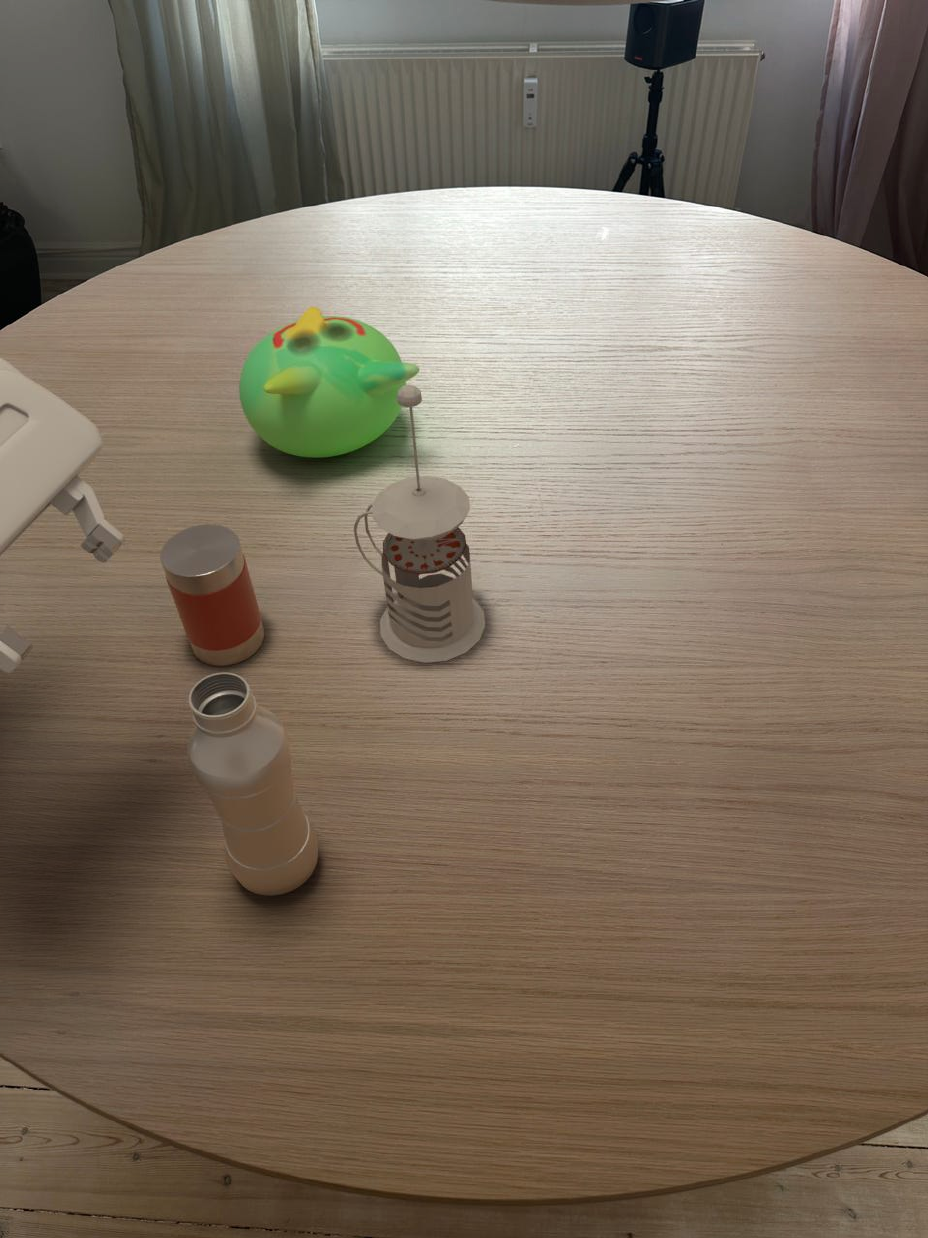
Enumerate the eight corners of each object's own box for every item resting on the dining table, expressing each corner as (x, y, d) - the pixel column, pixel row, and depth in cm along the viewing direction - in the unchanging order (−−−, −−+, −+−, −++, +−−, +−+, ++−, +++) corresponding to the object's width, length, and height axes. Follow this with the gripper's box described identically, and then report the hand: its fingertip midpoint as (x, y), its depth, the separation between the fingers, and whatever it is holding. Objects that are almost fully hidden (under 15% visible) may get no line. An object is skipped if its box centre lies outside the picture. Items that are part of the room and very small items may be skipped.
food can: (185, 669, 88) (152, 579, 80) (197, 615, 93) (166, 525, 85) (261, 664, 88) (234, 574, 80) (269, 611, 92) (244, 521, 85)
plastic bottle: (259, 820, 76) (197, 644, 62) (338, 843, 74) (293, 668, 60) (218, 892, 72) (141, 721, 58) (300, 918, 70) (242, 749, 56)
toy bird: (384, 386, 119) (370, 270, 108) (435, 461, 108) (425, 341, 97) (239, 424, 114) (210, 307, 104) (276, 507, 103) (248, 385, 93)
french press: (452, 677, 86) (431, 438, 68) (342, 634, 90) (295, 399, 72) (504, 606, 91) (498, 369, 74) (398, 568, 96) (368, 336, 78)
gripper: (-34, 369, 62) (143, 516, 66) (-303, 584, 49) (-59, 750, 53) (-2, 312, 58) (184, 474, 62) (-288, 531, 44) (-24, 716, 49)
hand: (71, 603), depth 58 cm, fingers open, 8 cm apart
